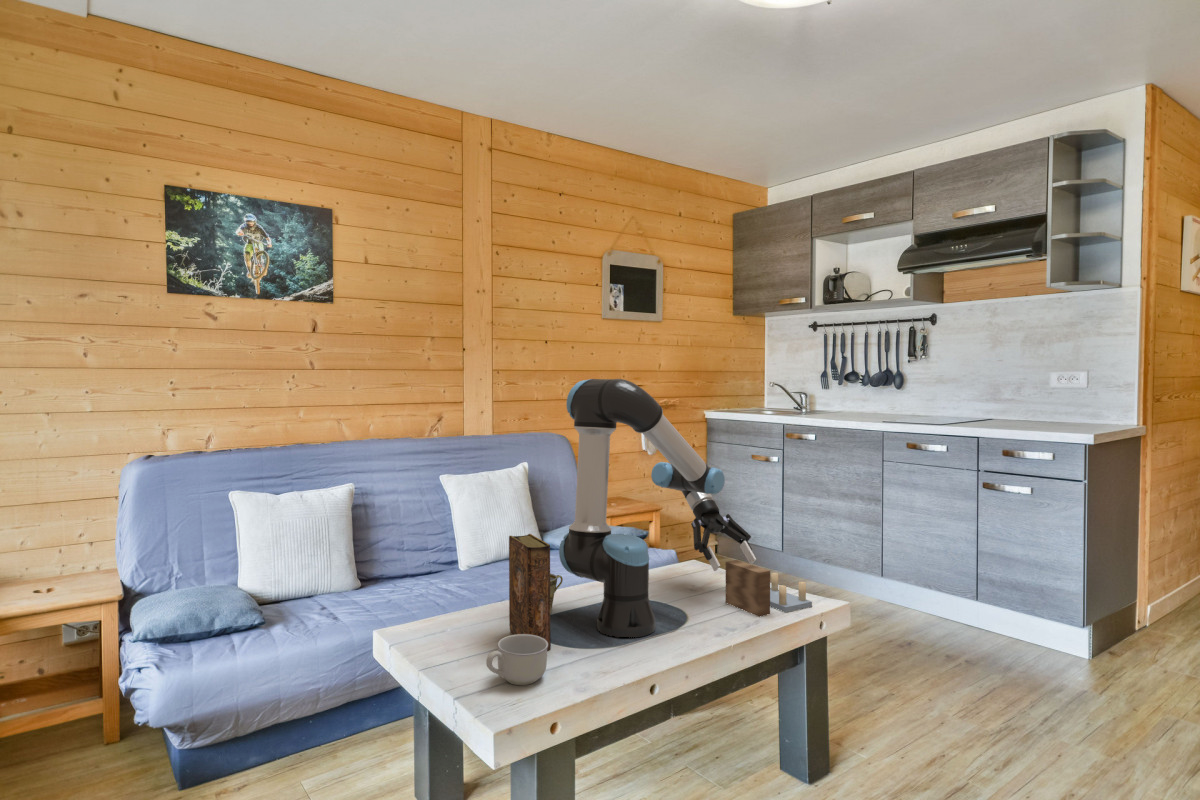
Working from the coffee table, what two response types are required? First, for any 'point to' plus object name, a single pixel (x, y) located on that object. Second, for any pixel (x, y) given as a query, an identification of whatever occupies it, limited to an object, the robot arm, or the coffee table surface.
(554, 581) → the ceramic cup
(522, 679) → the teacup
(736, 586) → the board
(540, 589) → the book
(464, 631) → the coffee table surface
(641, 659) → the coffee table surface
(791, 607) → the cradle
